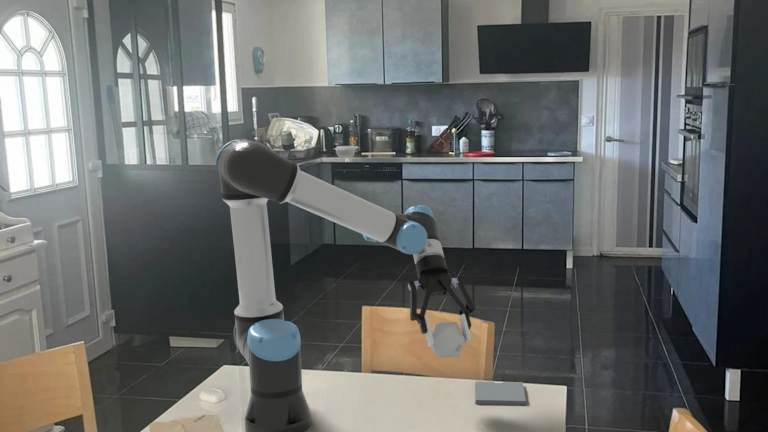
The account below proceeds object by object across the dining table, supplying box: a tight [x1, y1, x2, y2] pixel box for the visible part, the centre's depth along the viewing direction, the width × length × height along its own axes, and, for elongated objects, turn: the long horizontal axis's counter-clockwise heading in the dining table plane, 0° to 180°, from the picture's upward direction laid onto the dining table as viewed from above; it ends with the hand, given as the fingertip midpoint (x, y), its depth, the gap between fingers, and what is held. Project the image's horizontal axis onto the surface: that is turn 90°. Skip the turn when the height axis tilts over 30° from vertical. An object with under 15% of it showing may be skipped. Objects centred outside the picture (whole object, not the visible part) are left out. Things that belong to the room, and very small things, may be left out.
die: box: [431, 321, 465, 359], centre depth 185 cm, size 8×9×10 cm
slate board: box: [474, 380, 527, 406], centre depth 193 cm, size 12×12×1 cm
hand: (449, 342), depth 182 cm, fingers closed on die, 8 cm apart
